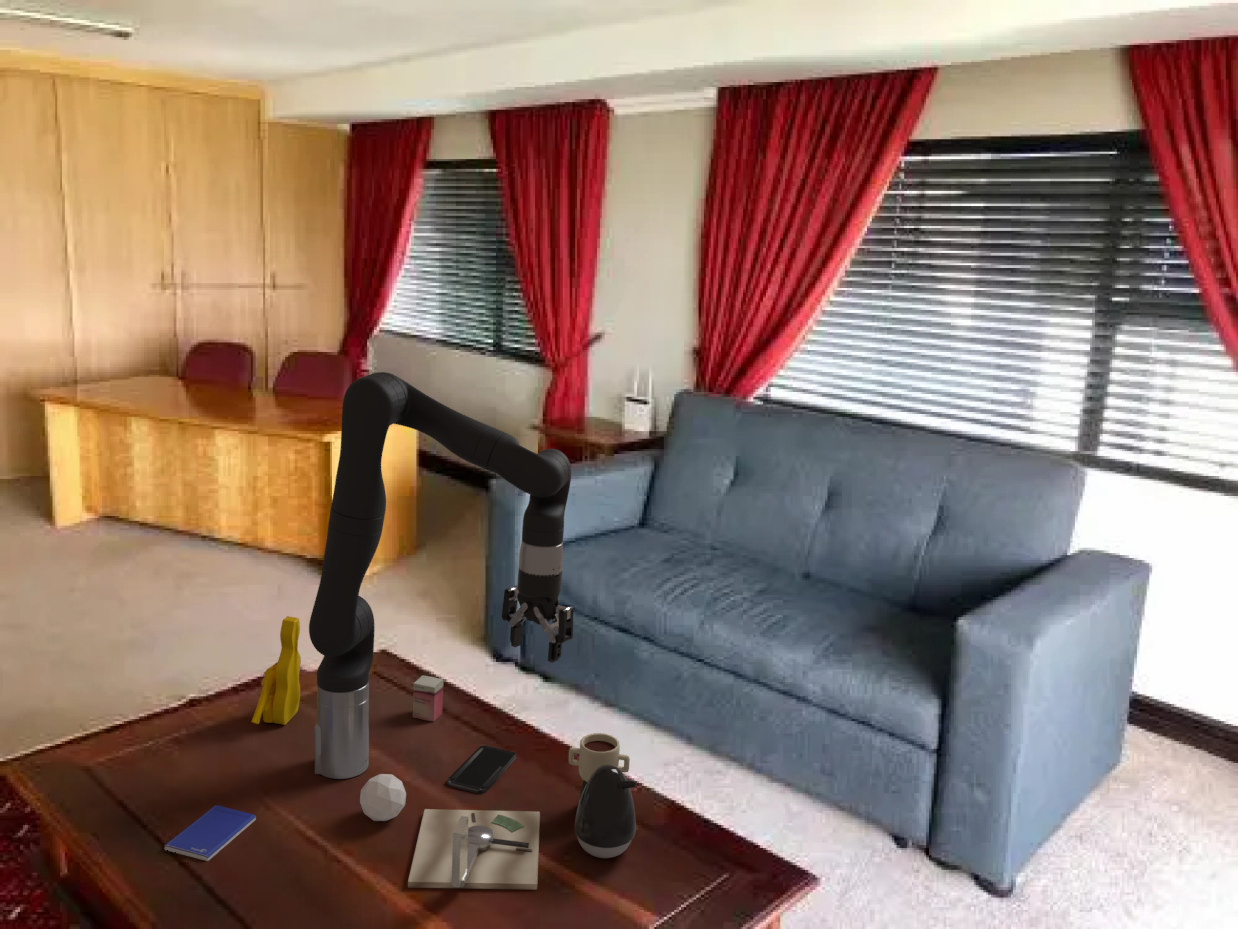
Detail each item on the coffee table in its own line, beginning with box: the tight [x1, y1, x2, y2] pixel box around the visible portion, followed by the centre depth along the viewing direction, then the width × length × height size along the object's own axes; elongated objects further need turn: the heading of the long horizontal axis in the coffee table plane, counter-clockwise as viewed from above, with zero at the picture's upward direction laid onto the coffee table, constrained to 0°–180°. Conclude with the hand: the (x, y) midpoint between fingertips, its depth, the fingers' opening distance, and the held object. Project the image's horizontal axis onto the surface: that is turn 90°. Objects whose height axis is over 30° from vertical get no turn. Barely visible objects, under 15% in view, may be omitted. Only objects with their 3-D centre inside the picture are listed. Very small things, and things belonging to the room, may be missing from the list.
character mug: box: [568, 732, 631, 802], centre depth 181 cm, size 11×7×13 cm, turn 81°
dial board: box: [407, 808, 541, 891], centre depth 169 cm, size 20×20×1 cm
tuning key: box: [452, 816, 529, 887], centre depth 162 cm, size 16×11×11 cm
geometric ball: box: [359, 773, 407, 822], centre depth 176 cm, size 8×8×8 cm
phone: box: [447, 744, 517, 795], centre depth 193 cm, size 8×1×15 cm
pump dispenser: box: [574, 765, 638, 859], centre depth 170 cm, size 10×10×15 cm
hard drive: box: [164, 804, 257, 862], centre depth 169 cm, size 2×8×12 cm
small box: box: [412, 674, 444, 723], centre depth 212 cm, size 5×4×8 cm
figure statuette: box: [250, 616, 302, 726], centre depth 205 cm, size 18×8×22 cm, turn 173°
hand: (534, 653), depth 179 cm, fingers open, 8 cm apart
